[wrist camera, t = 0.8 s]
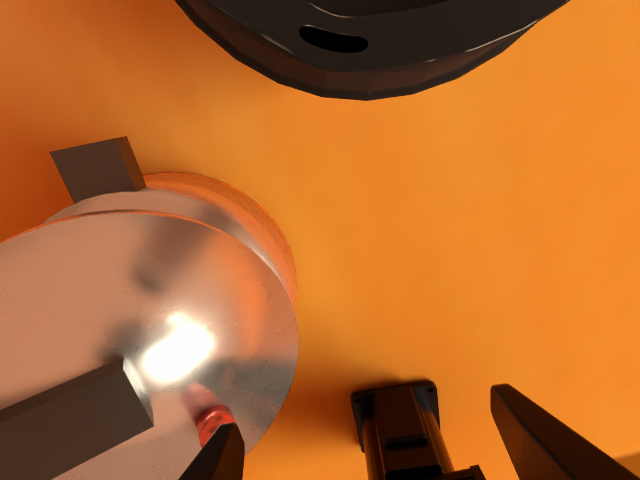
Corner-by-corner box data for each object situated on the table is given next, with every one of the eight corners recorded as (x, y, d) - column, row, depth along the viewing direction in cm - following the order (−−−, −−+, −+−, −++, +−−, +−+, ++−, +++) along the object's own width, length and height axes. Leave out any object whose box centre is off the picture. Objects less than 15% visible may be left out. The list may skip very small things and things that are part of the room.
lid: (314, 404, 20) (331, 430, 18) (0, 591, 14) (-19, 653, 12) (249, 167, 14) (264, 170, 13) (-296, 314, 9) (-400, 357, 7)
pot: (320, 368, 25) (321, 429, 20) (143, 396, 26) (106, 459, 21) (256, 109, 18) (235, 112, 14) (18, 159, 19) (-77, 178, 15)
